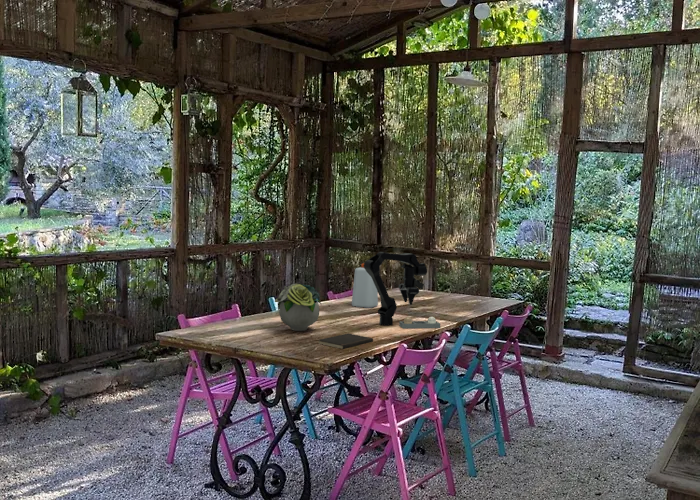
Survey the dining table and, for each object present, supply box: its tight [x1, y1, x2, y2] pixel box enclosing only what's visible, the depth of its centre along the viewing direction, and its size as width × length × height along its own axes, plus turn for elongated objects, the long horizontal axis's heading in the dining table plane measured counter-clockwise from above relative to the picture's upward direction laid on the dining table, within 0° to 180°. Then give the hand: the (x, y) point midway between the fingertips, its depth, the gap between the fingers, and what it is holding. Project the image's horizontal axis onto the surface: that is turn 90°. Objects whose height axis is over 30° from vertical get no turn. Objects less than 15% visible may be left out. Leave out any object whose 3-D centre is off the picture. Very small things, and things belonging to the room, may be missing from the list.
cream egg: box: [427, 316, 436, 323], centre depth 352 cm, size 4×4×6 cm
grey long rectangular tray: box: [398, 320, 441, 330], centre depth 351 cm, size 21×8×4 cm, turn 103°
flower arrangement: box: [274, 282, 322, 332], centre depth 338 cm, size 25×25×24 cm
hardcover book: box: [316, 332, 374, 350], centre depth 311 cm, size 16×23×2 cm
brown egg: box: [403, 316, 413, 324], centre depth 349 cm, size 4×4×6 cm
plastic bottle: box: [351, 262, 379, 309], centre depth 422 cm, size 15×15×28 cm
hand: (408, 303), depth 361 cm, fingers open, 9 cm apart
